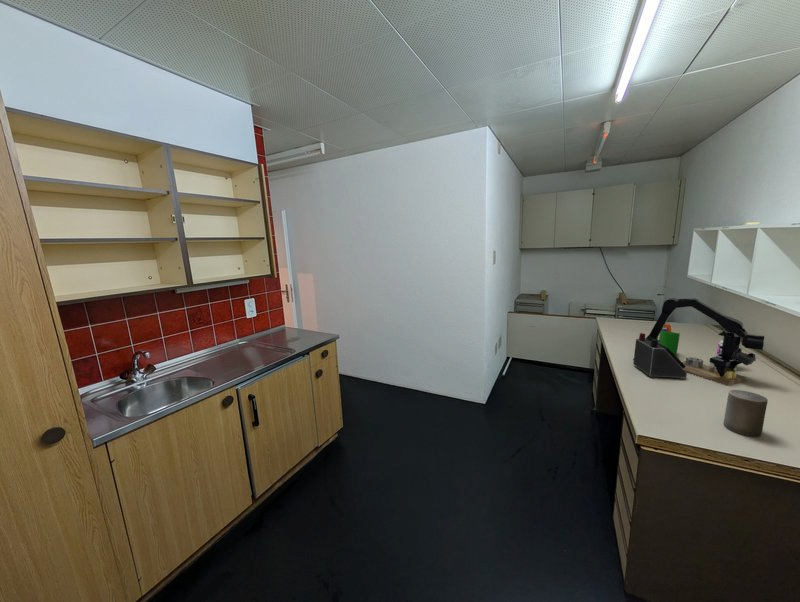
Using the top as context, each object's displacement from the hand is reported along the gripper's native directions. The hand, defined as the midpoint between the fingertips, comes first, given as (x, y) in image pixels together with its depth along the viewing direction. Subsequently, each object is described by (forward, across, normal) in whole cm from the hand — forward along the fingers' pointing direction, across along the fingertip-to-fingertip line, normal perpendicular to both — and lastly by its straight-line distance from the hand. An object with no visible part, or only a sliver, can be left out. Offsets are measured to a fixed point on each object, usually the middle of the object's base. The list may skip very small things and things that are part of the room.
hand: (725, 375), depth 154 cm
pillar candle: (+3, -47, -26) cm, 54 cm away
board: (+2, +1, +8) cm, 8 cm away
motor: (+3, +11, +32) cm, 34 cm away
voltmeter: (+3, -20, +18) cm, 27 cm away
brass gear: (+1, 0, 0) cm, 1 cm away
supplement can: (+3, +18, +8) cm, 20 cm away
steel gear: (+1, +2, +14) cm, 14 cm away
